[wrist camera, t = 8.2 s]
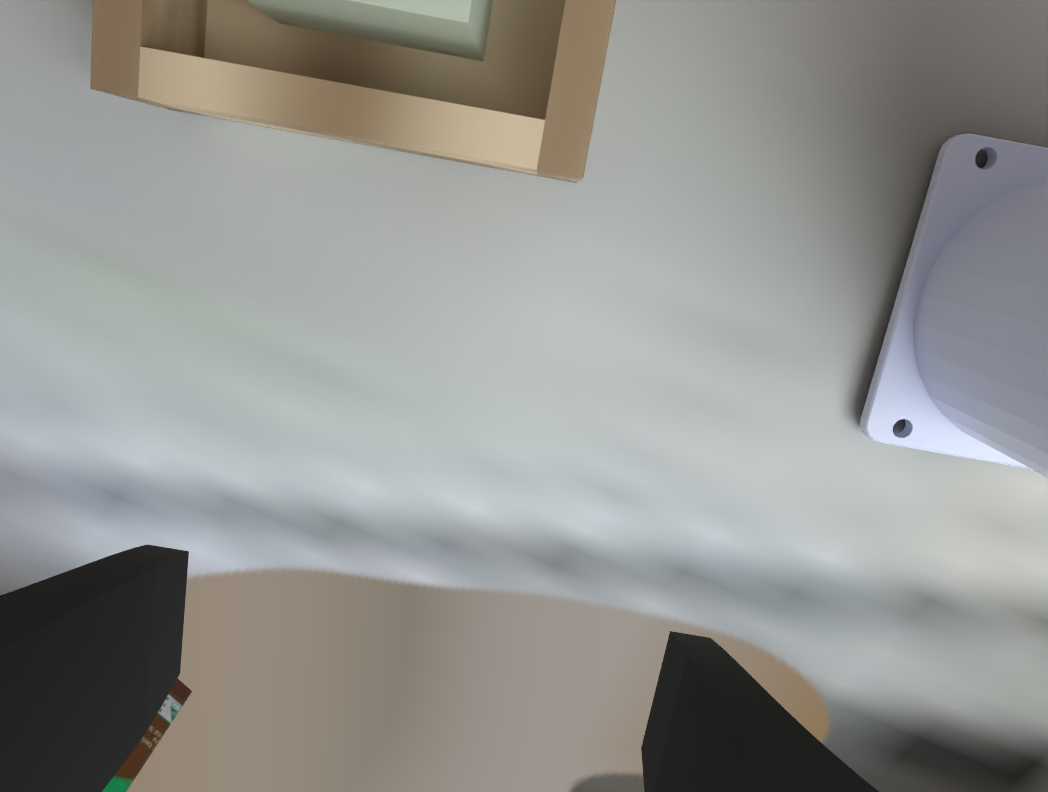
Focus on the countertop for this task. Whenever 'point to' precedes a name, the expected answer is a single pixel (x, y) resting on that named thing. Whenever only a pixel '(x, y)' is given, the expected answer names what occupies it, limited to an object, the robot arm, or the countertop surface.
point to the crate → (370, 79)
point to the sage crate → (394, 22)
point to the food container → (149, 739)
